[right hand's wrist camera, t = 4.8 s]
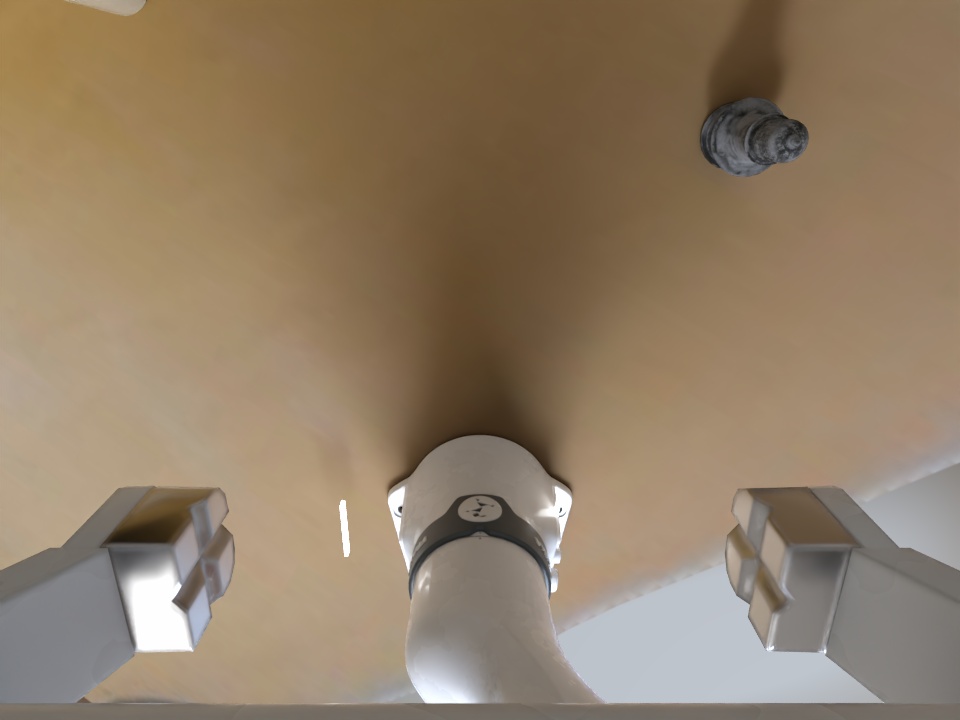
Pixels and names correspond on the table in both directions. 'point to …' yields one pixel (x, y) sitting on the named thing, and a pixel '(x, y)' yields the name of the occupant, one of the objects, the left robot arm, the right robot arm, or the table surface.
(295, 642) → the table surface
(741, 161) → the grey chess piece
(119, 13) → the jar
